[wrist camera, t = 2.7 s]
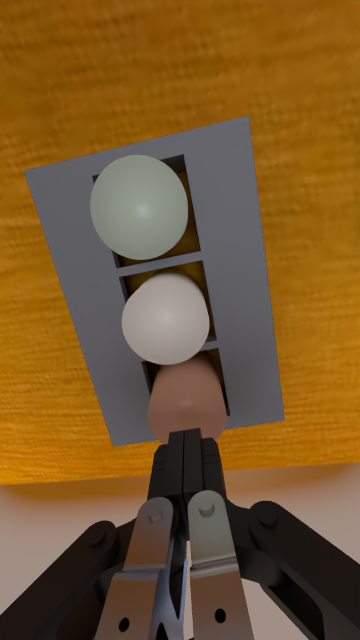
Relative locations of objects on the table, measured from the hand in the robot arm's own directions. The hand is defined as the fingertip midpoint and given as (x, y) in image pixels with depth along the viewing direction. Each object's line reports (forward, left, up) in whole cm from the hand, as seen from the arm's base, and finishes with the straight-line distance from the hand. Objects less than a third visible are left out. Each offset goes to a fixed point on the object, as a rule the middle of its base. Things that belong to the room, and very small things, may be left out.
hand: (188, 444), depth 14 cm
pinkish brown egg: (0, 0, -7) cm, 7 cm away
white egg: (0, +6, -7) cm, 9 cm away
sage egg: (0, +11, -7) cm, 13 cm away
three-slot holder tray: (0, +6, -9) cm, 11 cm away
